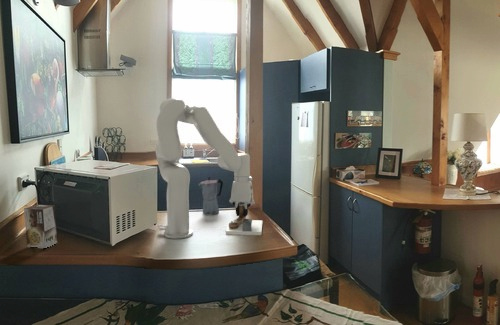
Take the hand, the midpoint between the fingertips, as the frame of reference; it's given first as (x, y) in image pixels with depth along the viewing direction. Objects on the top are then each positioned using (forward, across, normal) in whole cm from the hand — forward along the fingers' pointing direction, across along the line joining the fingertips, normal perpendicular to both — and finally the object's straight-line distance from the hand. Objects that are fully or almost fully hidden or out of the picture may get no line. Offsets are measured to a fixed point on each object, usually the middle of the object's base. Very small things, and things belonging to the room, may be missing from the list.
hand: (241, 215), depth 169 cm
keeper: (+3, -4, +11) cm, 12 cm away
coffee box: (+5, +66, +54) cm, 86 cm away
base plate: (+4, -4, +6) cm, 8 cm away
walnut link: (+2, 0, +6) cm, 6 cm away
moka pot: (+5, +24, -15) cm, 28 cm away
